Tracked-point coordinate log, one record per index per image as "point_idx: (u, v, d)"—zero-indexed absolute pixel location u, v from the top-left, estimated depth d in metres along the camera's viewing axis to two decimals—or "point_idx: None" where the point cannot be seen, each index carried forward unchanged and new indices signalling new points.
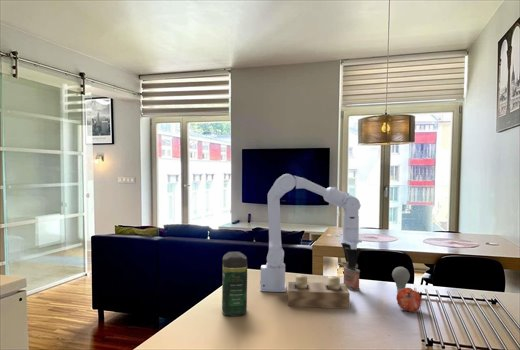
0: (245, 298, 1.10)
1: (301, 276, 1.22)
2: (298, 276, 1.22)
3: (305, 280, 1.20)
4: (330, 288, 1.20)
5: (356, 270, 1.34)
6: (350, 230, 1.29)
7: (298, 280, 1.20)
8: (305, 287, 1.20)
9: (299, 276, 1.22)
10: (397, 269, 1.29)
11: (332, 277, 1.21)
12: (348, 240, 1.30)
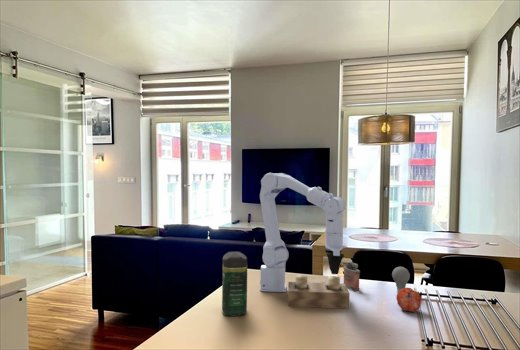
0: (245, 298, 1.10)
1: (301, 276, 1.22)
2: (298, 276, 1.22)
3: (305, 280, 1.20)
4: (330, 288, 1.20)
5: (356, 270, 1.34)
6: (333, 235, 1.18)
7: (298, 280, 1.20)
8: (305, 287, 1.20)
9: (299, 276, 1.22)
10: (397, 269, 1.29)
11: (332, 277, 1.21)
12: (331, 245, 1.18)
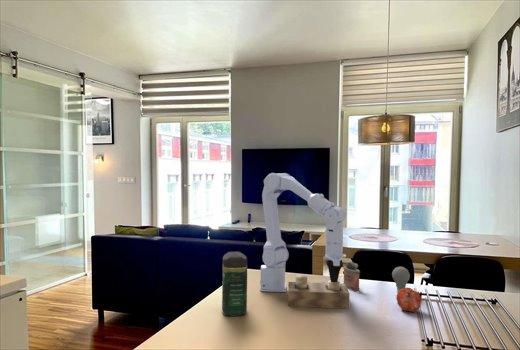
0: (245, 298, 1.10)
1: (301, 276, 1.22)
2: (298, 276, 1.22)
3: (305, 280, 1.20)
4: None
5: (356, 270, 1.34)
6: (333, 244, 1.18)
7: (298, 280, 1.20)
8: (305, 287, 1.20)
9: (299, 276, 1.22)
10: (397, 269, 1.29)
11: None
12: (331, 255, 1.18)
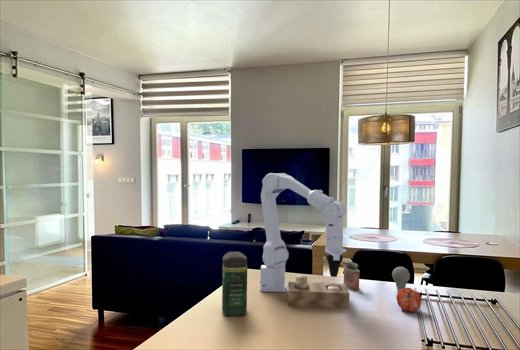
0: (245, 298, 1.10)
1: (301, 276, 1.22)
2: (298, 276, 1.22)
3: (305, 280, 1.20)
4: None
5: (356, 270, 1.34)
6: (333, 239, 1.18)
7: (298, 280, 1.20)
8: (305, 287, 1.20)
9: (299, 276, 1.22)
10: (397, 269, 1.29)
11: (332, 287, 1.21)
12: (331, 250, 1.18)
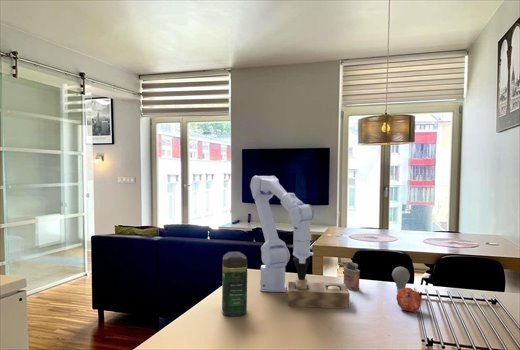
0: (245, 298, 1.10)
1: None
2: (298, 279, 1.22)
3: (305, 283, 1.20)
4: None
5: (356, 270, 1.34)
6: (300, 242, 1.19)
7: (298, 282, 1.20)
8: None
9: None
10: (397, 269, 1.29)
11: (332, 287, 1.21)
12: (298, 253, 1.19)
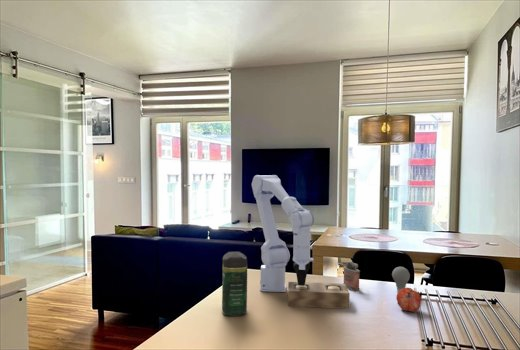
0: (245, 298, 1.10)
1: (301, 286, 1.22)
2: (298, 286, 1.22)
3: None
4: None
5: (356, 270, 1.34)
6: (300, 248, 1.19)
7: None
8: None
9: (299, 286, 1.22)
10: (397, 269, 1.29)
11: (332, 287, 1.21)
12: (298, 259, 1.19)
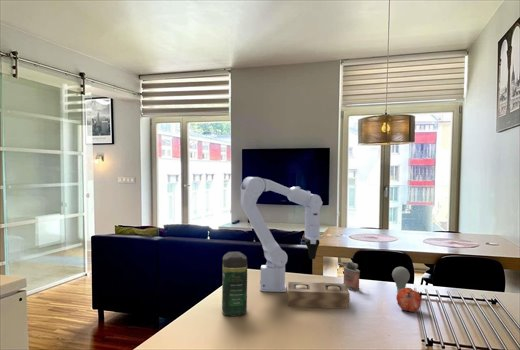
0: (245, 298, 1.10)
1: (301, 286, 1.22)
2: (298, 286, 1.22)
3: None
4: None
5: (356, 270, 1.34)
6: (311, 226, 1.37)
7: None
8: None
9: (299, 286, 1.22)
10: (397, 269, 1.29)
11: (332, 287, 1.21)
12: (309, 235, 1.37)
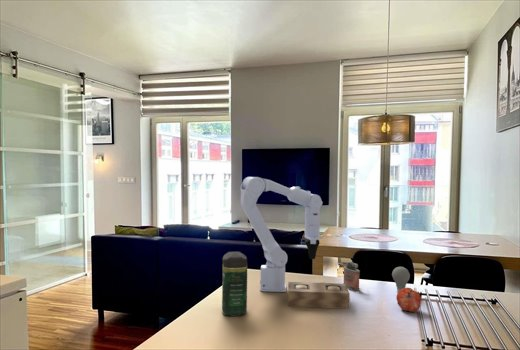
0: (245, 298, 1.10)
1: (301, 286, 1.22)
2: (298, 286, 1.22)
3: None
4: None
5: (356, 270, 1.34)
6: (311, 226, 1.37)
7: None
8: None
9: (299, 286, 1.22)
10: (397, 269, 1.29)
11: (332, 287, 1.21)
12: (309, 235, 1.37)
